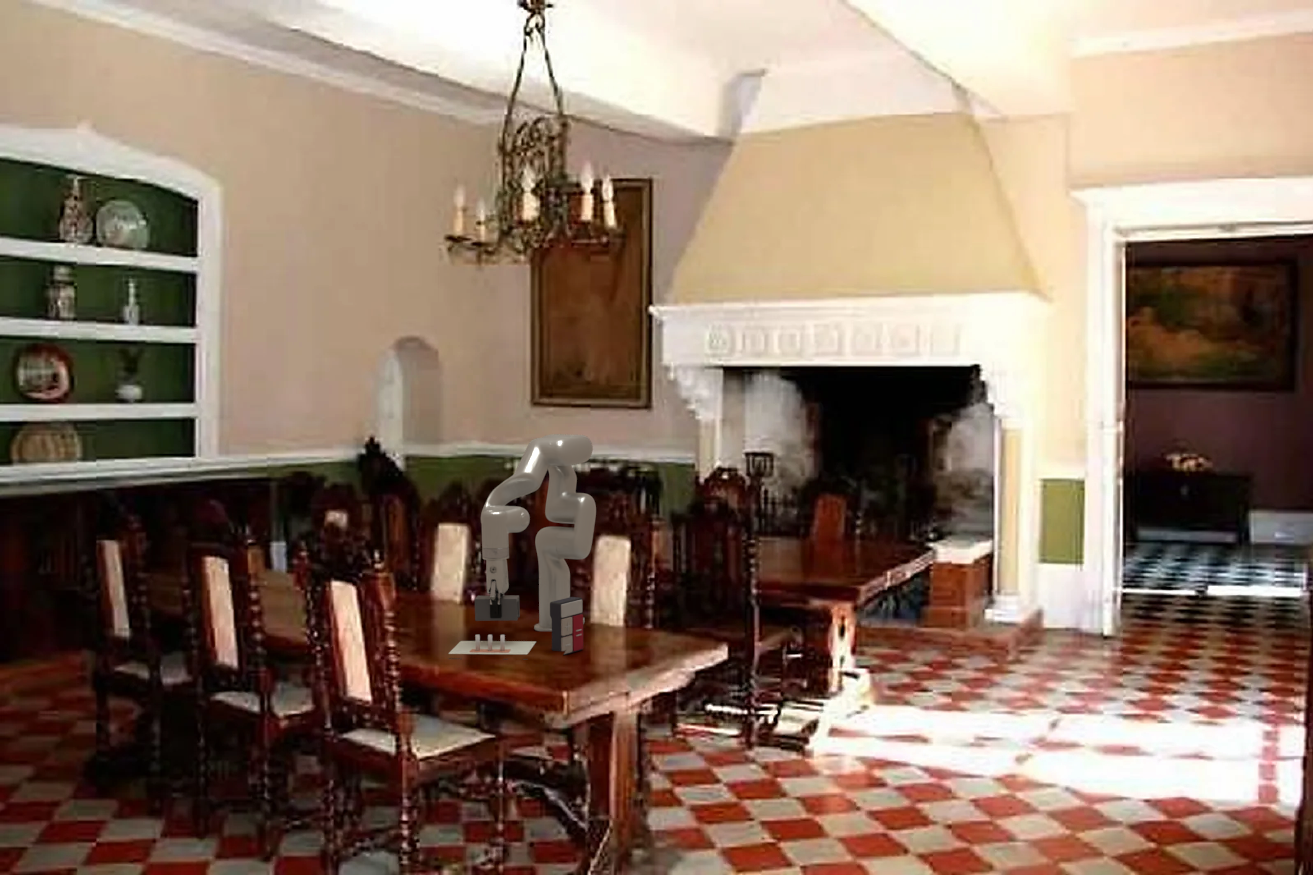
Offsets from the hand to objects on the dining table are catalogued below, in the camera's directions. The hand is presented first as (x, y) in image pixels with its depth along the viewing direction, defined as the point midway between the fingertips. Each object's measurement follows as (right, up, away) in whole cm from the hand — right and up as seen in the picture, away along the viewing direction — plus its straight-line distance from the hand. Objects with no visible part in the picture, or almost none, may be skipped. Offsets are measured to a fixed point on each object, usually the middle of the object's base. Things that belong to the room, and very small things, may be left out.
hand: (497, 615), depth 399 cm
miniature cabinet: (+20, -10, -5) cm, 23 cm away
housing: (0, -1, 0) cm, 1 cm away
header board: (-1, -10, -5) cm, 11 cm away
